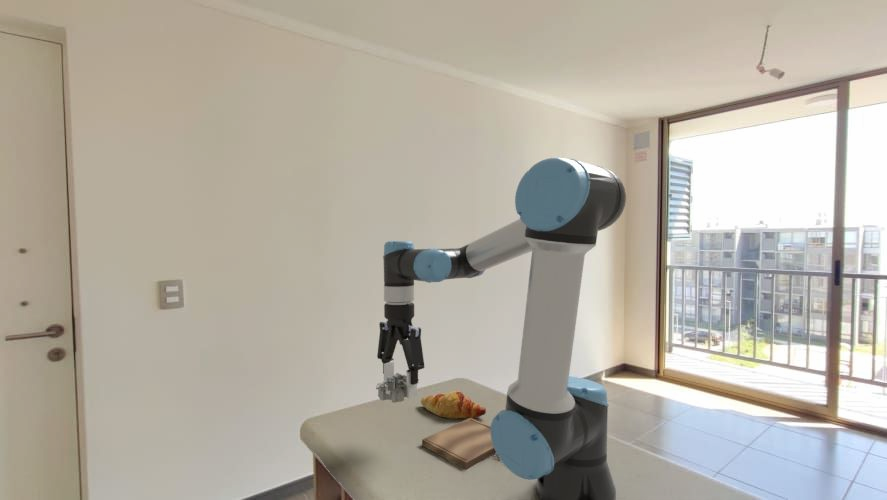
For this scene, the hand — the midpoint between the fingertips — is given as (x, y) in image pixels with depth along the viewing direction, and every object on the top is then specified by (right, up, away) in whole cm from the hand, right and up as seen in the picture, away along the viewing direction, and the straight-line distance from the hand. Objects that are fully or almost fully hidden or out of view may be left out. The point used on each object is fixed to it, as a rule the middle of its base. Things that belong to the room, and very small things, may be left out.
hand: (400, 391), depth 104 cm
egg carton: (-1, -1, -1) cm, 1 cm away
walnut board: (+17, -13, 0) cm, 22 cm away
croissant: (+14, -13, +19) cm, 26 cm away
